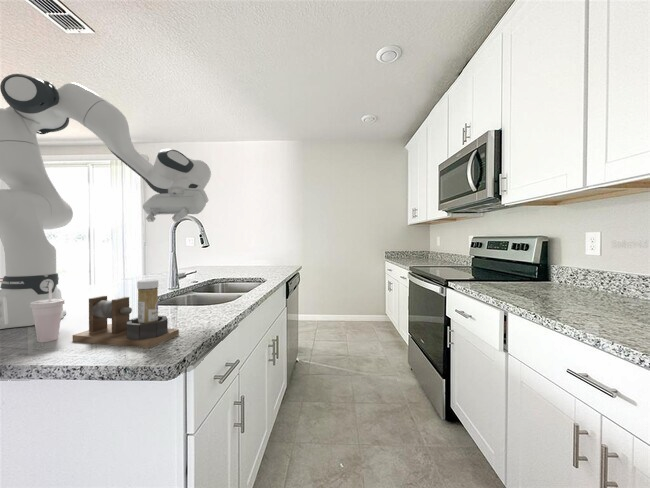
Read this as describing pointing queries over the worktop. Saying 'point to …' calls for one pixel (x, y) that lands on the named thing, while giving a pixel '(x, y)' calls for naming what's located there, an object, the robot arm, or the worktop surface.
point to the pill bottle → (147, 301)
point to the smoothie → (47, 317)
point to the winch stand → (122, 326)
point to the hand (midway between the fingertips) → (162, 220)
